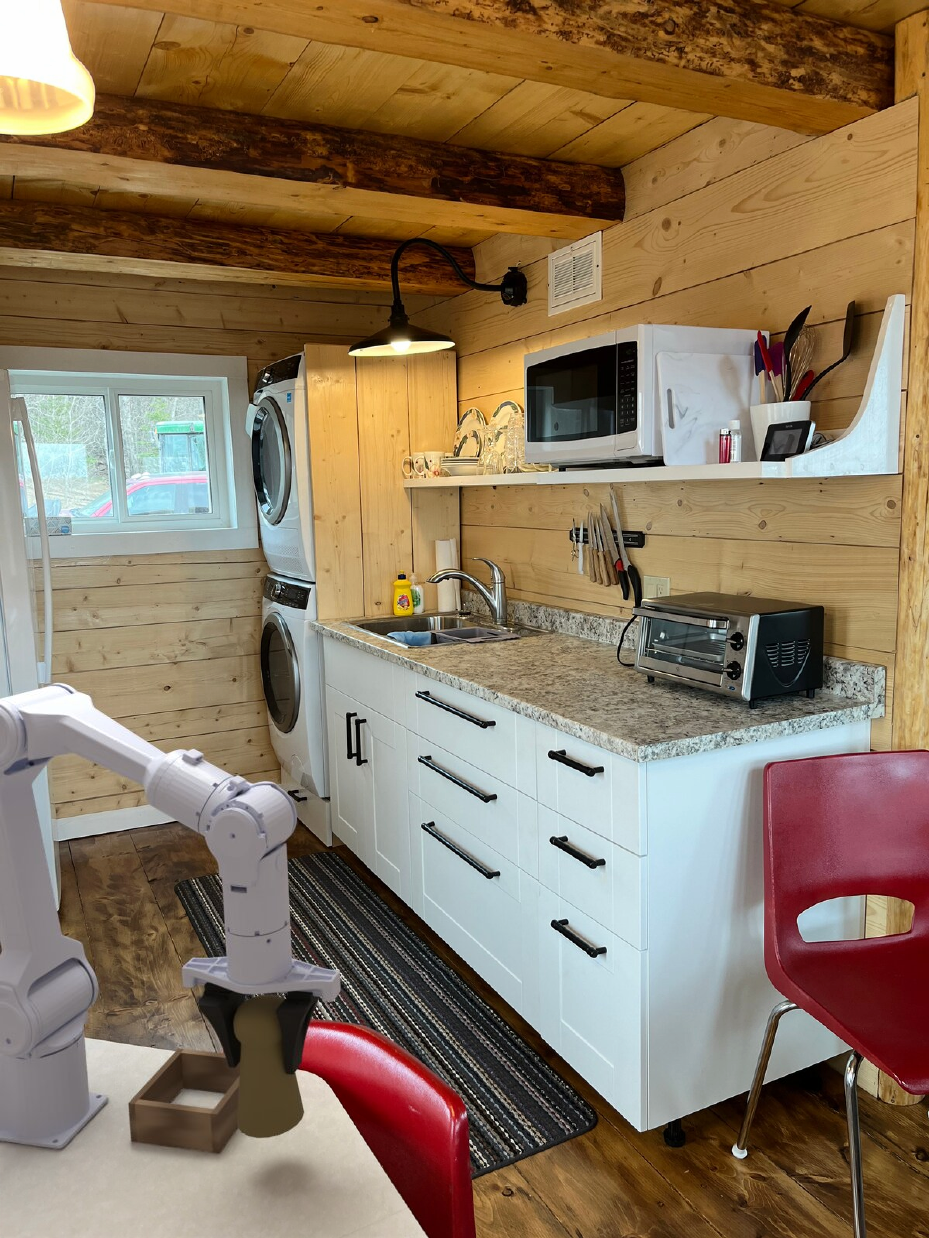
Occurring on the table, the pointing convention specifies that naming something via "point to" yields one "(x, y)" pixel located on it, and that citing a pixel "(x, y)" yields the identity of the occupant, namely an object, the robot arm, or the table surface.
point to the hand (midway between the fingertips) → (265, 1064)
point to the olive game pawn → (264, 1072)
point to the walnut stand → (186, 1123)
